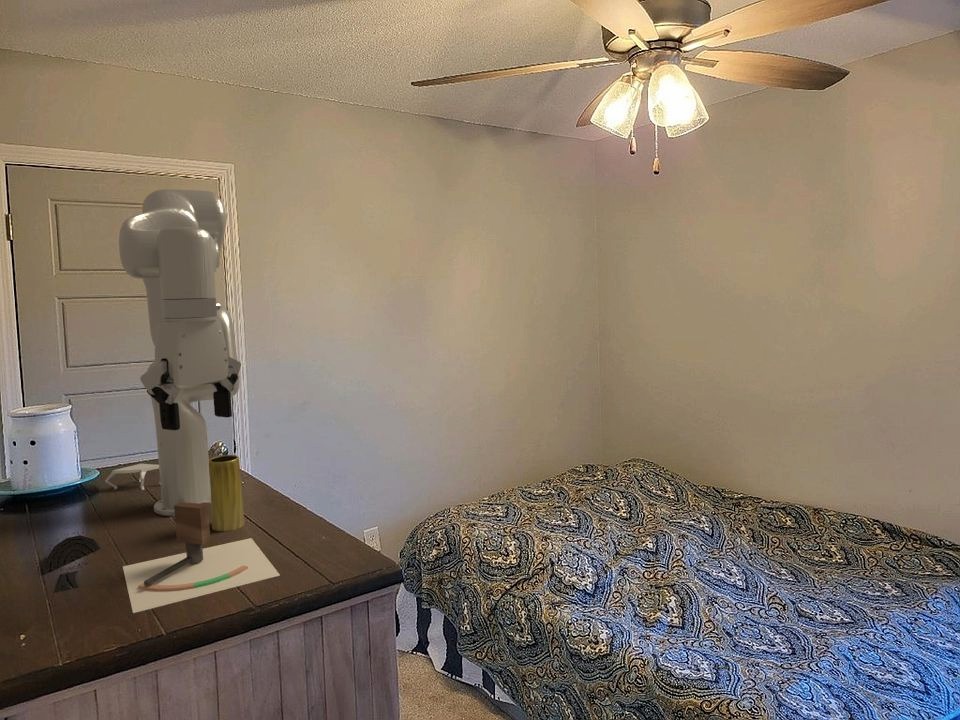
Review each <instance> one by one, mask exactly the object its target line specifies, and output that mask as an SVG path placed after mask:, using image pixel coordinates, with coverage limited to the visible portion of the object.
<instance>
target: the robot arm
mask: <svg viewBox="0 0 960 720" xmlns="http://www.w3.org/2000/svg"><path fill="white" fill-rule="evenodd" d="M226 228H227V211H226V207H225V204H224V202H223V200H222V199H221V198H220V196H219V195H217V194H216V193H214V192H211V190H197V189H195V190H194V189H193V190H191V189H169V188H167V189H165V188H164V189H158V190H155V191H152V192H151V193H149V194H148V195H147V196H146V197H145V198H144V200H143V203H142V212H141V213H139V214H135V215H132V216H130V217H129V218H127V219H125V220H124V222H122V224H121V227H120V230H119V234H118V248H119V249H118V250H119V257H120V262H121V266H122V268H123V270H124V271H125V273H126V274H127V275H129V276H130V277H131V278H134V279H141V280H142V281H143V284H144V287H145V291H146V301H147V310H148V321H149V330H150V336H151V341H152V342H153V345H154V361H153V362H152V363H150V365H149V366H148V368H147V370H146V372H144V373H143V374H142V375H141V376H140V379H139V380H140V382H141V383H142V385H143V386H144V388H145V389H146V392H147V394H148V395H149V396H150V399H151V403H152V410H153V416H154V424H155V425H154V426H155V436H156V445H157V446H156V447H157V459H158V465H159V469H158V470H159V482H160V484H161V485H160V492H161V493H160V495H161V496H160V497H161V499H159V500H158V501H156V502H155V503H154V504H153V511H154V513H156V514H158V515H160V516H167V517H168V516H169V517H172V516H175V511H174V506H175V505H177V504H179V503H181V502H187V503H197V504H204V503H205V504H208V503H209V504H211V488H210V475H209V460H210V457H209V456H210V455H209V445H208V431H207V423H206V419H205V418H204V416H203V415H202V414H201V413H200V412H199V411H198V410H197V409H196V408H195V407H193V406H192V405H191V404H192V403H196V402H201V401H211V400H213V407H214V408H213V409H214V411H213V412H214V416H215V417H219V418H232V416H233V411H232V410H233V409H232V397H234V396H235V395H236V394H237V393H238V392H239V390H240V370H241V367H242V363H241V361H239V360H238V354H237V348H236V346H237V344H236V339H235V338H236V337H235V329H234V323H233V320H232V316H231V314H230V311H228V309H227V308H226V307H225V306H223V305H221V304H220V303H219V302H217V298H216V297H217V295H216V294H217V293H216V281H215V280H216V279H215V272H216V270H217V269H218V268H219V267H220V264H221V260H220V258H221V251H222V247H223V243H224V242H223V241H224V238H225V232H226Z"/></svg>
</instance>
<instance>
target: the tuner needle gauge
mask: <svg viewBox="0 0 960 720" xmlns="http://www.w3.org/2000/svg"><path fill="white" fill-rule="evenodd" d="M174 511H175V515H174V523H175V536H176V542H177V543H185V553H186V554H187V557H186V558H185V559H183V560H181V561H179V562H177V563H176V564H174V565H172V566H170V567H169V568H167V569H165V570H163V571H161V572H160V573H158V574H156V575H154V576H152V577H151V578H149V579H147V580H145V581H144V585H147V586H149V585H151V584H153V583H154V582H156V581H158V580H160V579H161V578H163V577H165V576H167V575H168V574H170V573H172V572H174V571H175V570H177V569H179V568H181V567H182V566H184V565H186V564H188V563H197V562H200V561H202V560H203V549H204V548H203V545H205V544H206V543H209V542H210V541H211V530H210V529H211V528H210V527H211V526H210V517H209V516H210V515H209V504H208V503H200V504H197V503H187V502H181V503H179V504H177V505H175V506H174Z"/></svg>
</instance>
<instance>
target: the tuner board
mask: <svg viewBox="0 0 960 720" xmlns="http://www.w3.org/2000/svg"><path fill="white" fill-rule="evenodd" d="M202 549H203V560H202V561H200V562H197V563H188V564H186V565H184V566H182V567H181V568H179V569H177V570H175V571H174V572H172V573H170V574H168V575H167V576H165V577H163V578H161V579H160V580H158V581H156V582H154V583H153V584H151V585H149V586H147V585H144V581H145V580H147V579H149V578H151V577H152V576H154V575H156V574H158V573H160V572H161V571H163V570H165V569H167V568H169V567H170V566H172V565H174V564H176V563H177V562H179V561H181V560H183V559H185V558H186V557H187V554H186V552H182V553H178V554H173V555H168V556H165V557H159V558H156V559H150V560H146V561H142V562H136V563H133V564H129V565H123V566H122V570H123V573H124V578H125V583H126V587H127V592H128V596H129V602H130V606H131V611H132V613H133V614H136V613H140V612H144V611H148V610H152V609H155V608H160V607H164V606H167V605H172V604H175V603H179V602H182V601H186V600H190V599H195V598H198V597H203V596H206V595H210V594H214V593H218V592H221V591H226V590H229V589H234V588H237V587H241V586H245V585H249V584H253V583H257V582H260V581H264V580H268V579H272V578H276V577H280V576H281V575H280V572H278V569H276V567H275V566H273V564H272V562H270V560H269V559H268V557H266V555H265V553H263V551H262V550H261V548H260V547H259V546H258V545H257V544H256V542H255V541H254V539H253V538H252V537H251V538H245V539H241V540H235V541H231V542H227V543H223V544H218V545H213V546H209V547H204V548H202Z"/></svg>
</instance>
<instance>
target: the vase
mask: <svg viewBox="0 0 960 720" xmlns="http://www.w3.org/2000/svg"><path fill="white" fill-rule="evenodd" d="M209 475H210V488H211V503H210V505H211V506H210V507H211V528H212V530H213V531H216V532H229V531H234V530H238V529H241V528H242V527H243V526H245V515H244V513H245V512H244V511H245V509H244V501H243V500H244V499H243V491H242V490H243V487H242V477H241V465H240V457H239V456H238V455H235V454H223V455H218V456H214V457H211V458H209Z"/></svg>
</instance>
